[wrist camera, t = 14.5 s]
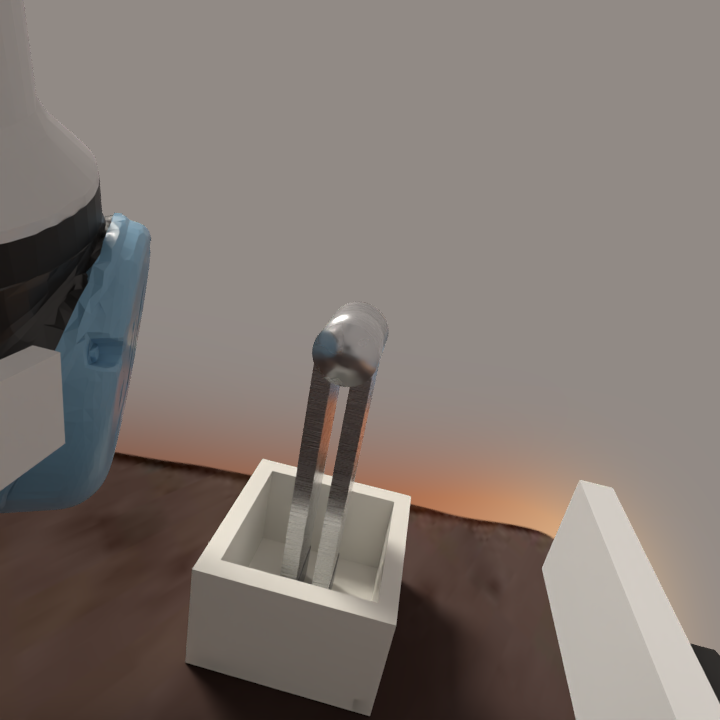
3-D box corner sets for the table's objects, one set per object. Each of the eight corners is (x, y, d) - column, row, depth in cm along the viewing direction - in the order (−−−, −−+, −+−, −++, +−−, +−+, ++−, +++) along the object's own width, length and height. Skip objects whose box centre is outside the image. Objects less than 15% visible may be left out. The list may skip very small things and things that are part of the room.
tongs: (270, 619, 29) (317, 316, 22) (294, 558, 33) (339, 291, 27) (320, 633, 29) (385, 331, 22) (338, 570, 33) (395, 303, 26)
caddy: (185, 662, 27) (192, 569, 24) (252, 535, 36) (262, 458, 34) (369, 716, 26) (396, 625, 24) (390, 572, 35) (410, 496, 33)
